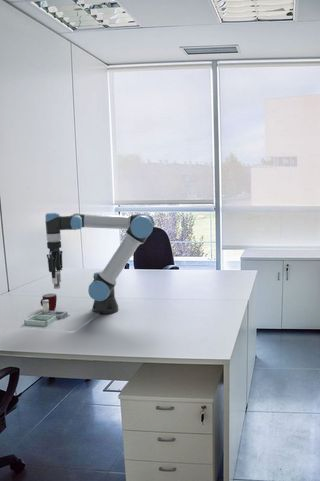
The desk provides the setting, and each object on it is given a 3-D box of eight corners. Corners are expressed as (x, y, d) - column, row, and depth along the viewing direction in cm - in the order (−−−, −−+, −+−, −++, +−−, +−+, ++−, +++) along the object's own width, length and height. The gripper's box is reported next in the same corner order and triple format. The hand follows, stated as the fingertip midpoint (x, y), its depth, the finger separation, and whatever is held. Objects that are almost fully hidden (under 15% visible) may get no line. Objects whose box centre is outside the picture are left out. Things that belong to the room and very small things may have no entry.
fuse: (50, 315, 271) (49, 299, 269) (47, 316, 267) (46, 301, 266) (45, 314, 272) (44, 299, 270) (42, 316, 268) (40, 301, 267)
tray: (57, 321, 261) (56, 315, 261) (47, 327, 251) (46, 321, 251) (35, 320, 265) (34, 314, 265) (24, 326, 255) (24, 320, 255)
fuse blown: (61, 287, 266) (60, 271, 265) (58, 288, 263) (57, 272, 261) (55, 287, 267) (54, 271, 266) (52, 288, 264) (51, 272, 262)
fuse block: (70, 316, 269) (70, 311, 269) (63, 321, 262) (63, 315, 262) (42, 315, 275) (42, 310, 274) (35, 319, 267) (34, 314, 267)
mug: (37, 313, 279) (36, 296, 278) (44, 309, 287) (43, 293, 285) (53, 314, 276) (52, 297, 275) (59, 310, 284) (58, 293, 282)
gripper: (55, 238, 270) (58, 279, 273) (39, 243, 254) (42, 285, 258) (67, 238, 268) (69, 279, 271) (52, 243, 252) (55, 286, 255)
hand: (56, 282), depth 264 cm, fingers closed on fuse blown, 3 cm apart
